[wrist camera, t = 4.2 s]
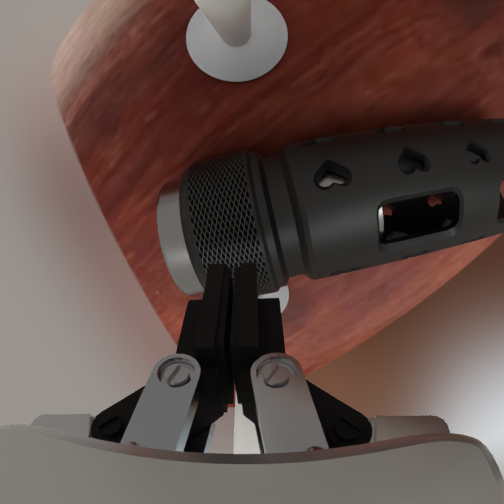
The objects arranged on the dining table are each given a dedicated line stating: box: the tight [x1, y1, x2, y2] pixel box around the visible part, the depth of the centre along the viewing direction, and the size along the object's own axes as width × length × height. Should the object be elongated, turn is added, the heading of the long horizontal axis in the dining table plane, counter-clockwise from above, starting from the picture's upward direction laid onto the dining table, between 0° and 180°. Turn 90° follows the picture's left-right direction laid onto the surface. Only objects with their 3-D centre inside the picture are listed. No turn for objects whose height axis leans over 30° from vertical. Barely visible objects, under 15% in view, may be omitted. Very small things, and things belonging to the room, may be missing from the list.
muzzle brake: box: [157, 119, 504, 296], centre depth 20 cm, size 10×28×10 cm, turn 104°
